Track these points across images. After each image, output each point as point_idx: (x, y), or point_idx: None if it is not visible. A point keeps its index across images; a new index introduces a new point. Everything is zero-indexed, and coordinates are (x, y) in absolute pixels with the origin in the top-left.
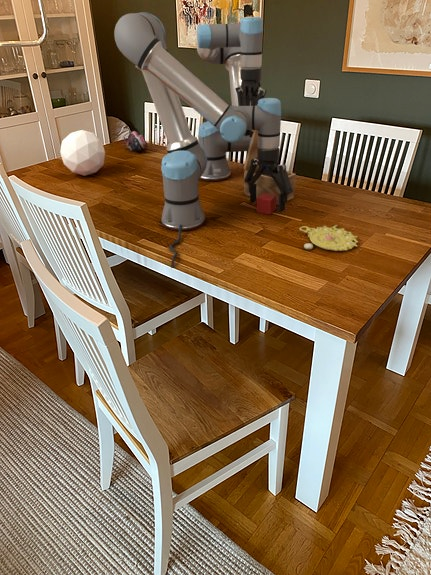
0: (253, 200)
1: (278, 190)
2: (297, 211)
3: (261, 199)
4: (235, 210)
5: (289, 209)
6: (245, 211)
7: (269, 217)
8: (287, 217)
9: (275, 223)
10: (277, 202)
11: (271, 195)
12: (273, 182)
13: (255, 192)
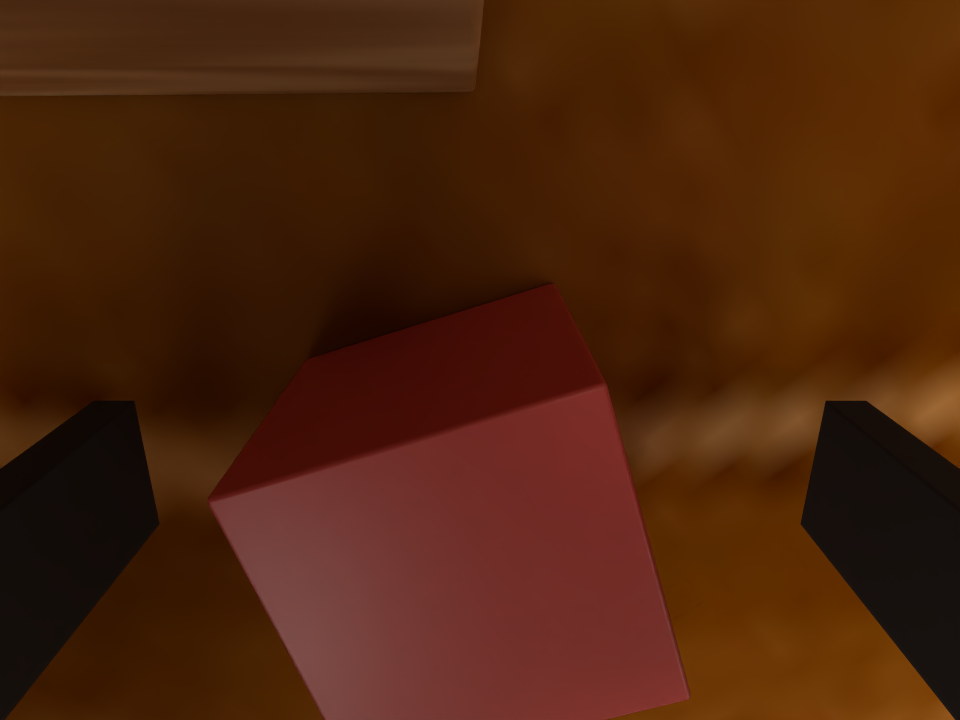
0: (131, 496)
1: (448, 60)
2: (957, 91)
3: None
4: (135, 693)
5: (774, 115)
6: (260, 638)
7: (670, 582)
8: (905, 422)
9: (846, 664)
10: (450, 90)
11: (513, 486)
12: (34, 32)
13: (11, 535)
